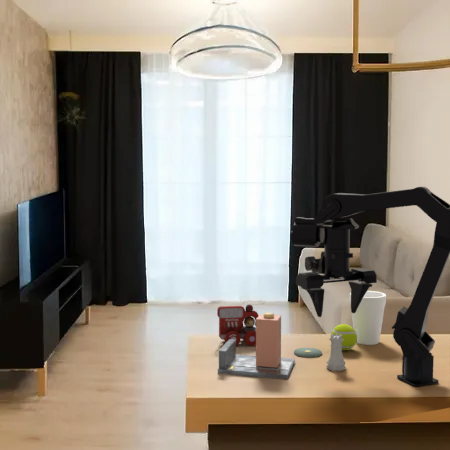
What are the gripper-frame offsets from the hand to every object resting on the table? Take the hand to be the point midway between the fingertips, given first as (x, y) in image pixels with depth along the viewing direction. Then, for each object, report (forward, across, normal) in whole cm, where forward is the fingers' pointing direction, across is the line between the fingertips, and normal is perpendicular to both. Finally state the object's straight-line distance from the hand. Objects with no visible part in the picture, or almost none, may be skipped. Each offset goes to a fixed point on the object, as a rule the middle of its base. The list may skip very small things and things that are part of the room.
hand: (336, 314), depth 143 cm
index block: (+11, +15, -6) cm, 19 cm away
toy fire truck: (+13, +12, -28) cm, 33 cm away
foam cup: (+13, -20, -16) cm, 29 cm away
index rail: (+13, +17, -8) cm, 22 cm away
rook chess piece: (+13, 0, 0) cm, 13 cm away
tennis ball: (+13, -10, -12) cm, 20 cm away
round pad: (+13, 0, -13) cm, 18 cm away
